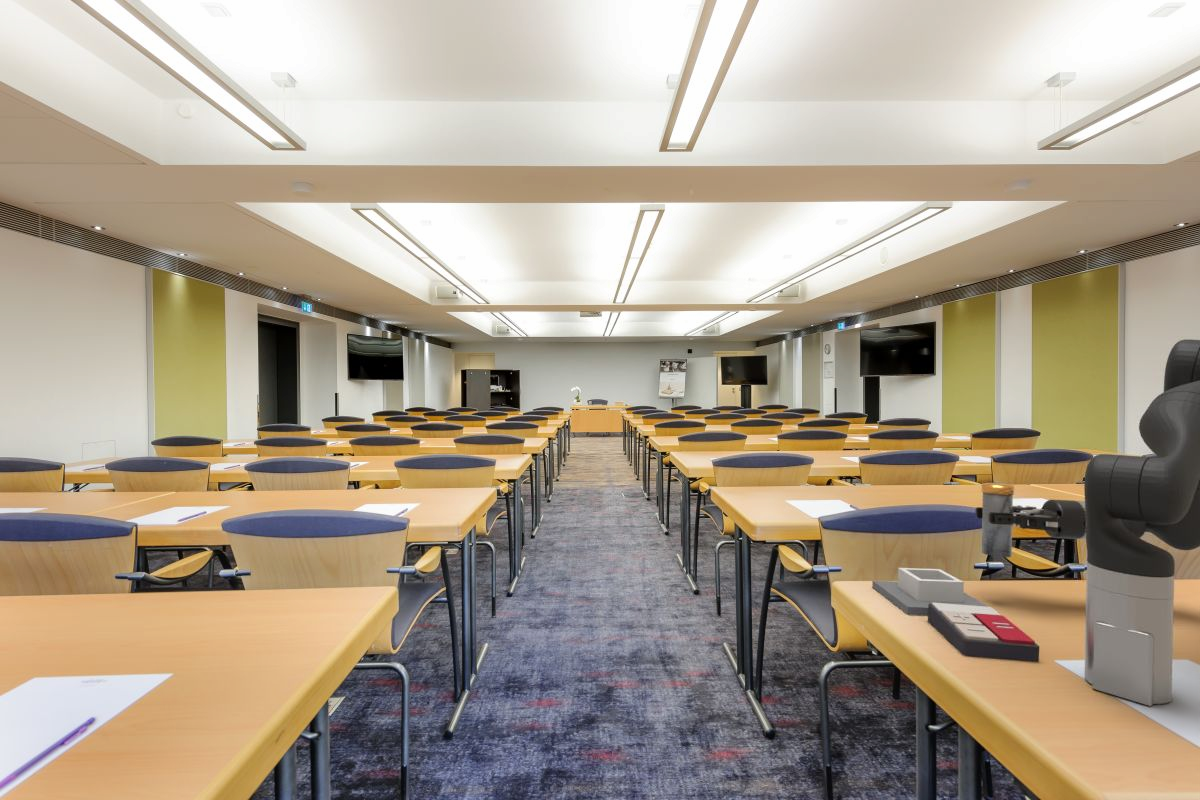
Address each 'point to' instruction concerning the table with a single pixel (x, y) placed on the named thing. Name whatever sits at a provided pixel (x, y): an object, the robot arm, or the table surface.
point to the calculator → (982, 632)
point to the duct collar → (924, 590)
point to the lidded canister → (996, 535)
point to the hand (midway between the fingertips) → (983, 515)
